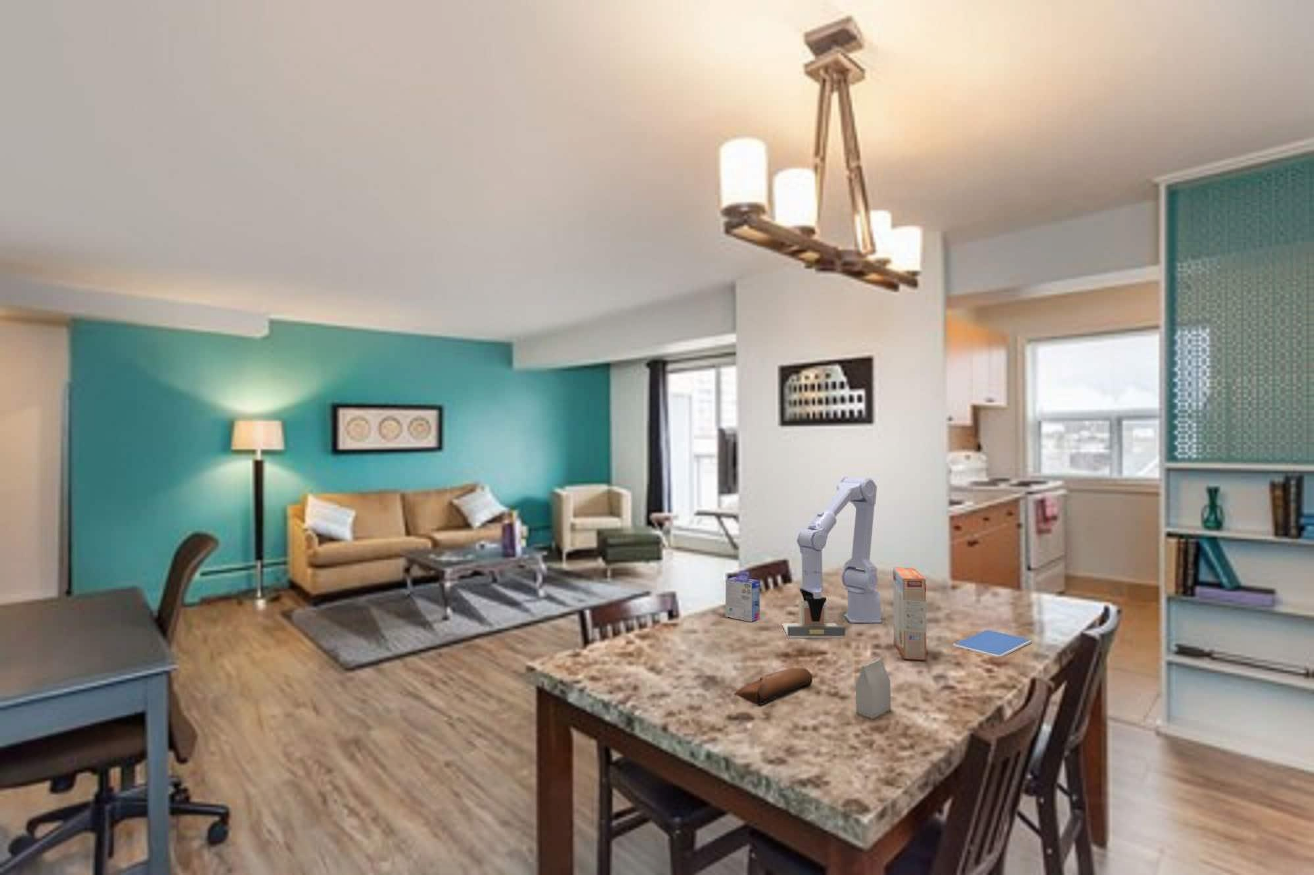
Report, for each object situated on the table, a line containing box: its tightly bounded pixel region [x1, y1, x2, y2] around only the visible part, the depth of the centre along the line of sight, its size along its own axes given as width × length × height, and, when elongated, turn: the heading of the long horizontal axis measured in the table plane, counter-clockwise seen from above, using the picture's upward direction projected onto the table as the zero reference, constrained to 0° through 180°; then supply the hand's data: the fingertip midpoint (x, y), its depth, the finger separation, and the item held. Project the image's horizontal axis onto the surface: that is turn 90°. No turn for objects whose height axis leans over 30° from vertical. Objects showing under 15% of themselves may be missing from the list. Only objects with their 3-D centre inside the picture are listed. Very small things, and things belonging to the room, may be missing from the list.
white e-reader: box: [781, 622, 846, 639], centre depth 181 cm, size 16×12×3 cm
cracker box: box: [892, 567, 927, 661], centre depth 163 cm, size 14×6×21 cm, turn 168°
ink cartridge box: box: [725, 570, 761, 623], centre depth 196 cm, size 10×6×14 cm, turn 53°
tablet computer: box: [952, 629, 1033, 658], centre depth 167 cm, size 19×13×1 cm, turn 127°
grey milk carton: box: [855, 658, 892, 719], centre depth 128 cm, size 4×7×10 cm, turn 128°
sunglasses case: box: [734, 667, 813, 707], centre depth 139 cm, size 18×7×7 cm, turn 129°
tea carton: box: [798, 600, 827, 626], centre depth 180 cm, size 4×7×8 cm, turn 88°
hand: (812, 617), depth 180 cm, fingers open, 7 cm apart
